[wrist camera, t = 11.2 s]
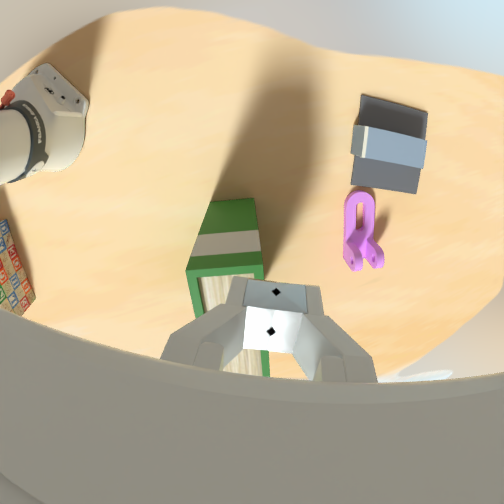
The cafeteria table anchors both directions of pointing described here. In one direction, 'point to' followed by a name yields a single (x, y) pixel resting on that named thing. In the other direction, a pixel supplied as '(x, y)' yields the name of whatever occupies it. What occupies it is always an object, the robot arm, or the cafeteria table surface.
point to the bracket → (360, 233)
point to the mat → (395, 121)
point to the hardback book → (227, 267)
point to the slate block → (388, 146)
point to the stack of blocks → (12, 276)
